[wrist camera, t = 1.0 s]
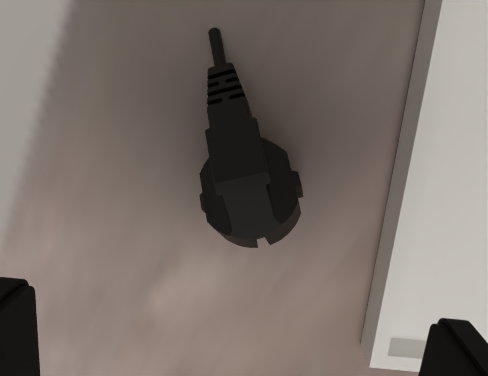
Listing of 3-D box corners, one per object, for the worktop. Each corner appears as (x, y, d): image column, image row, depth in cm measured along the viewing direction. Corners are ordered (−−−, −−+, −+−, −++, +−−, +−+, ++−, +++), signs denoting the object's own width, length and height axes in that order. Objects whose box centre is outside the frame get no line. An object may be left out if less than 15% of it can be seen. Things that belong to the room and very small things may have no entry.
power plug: (259, 8, 23) (310, 214, 19) (274, 83, 30) (313, 245, 26) (162, 35, 24) (191, 240, 20) (199, 102, 31) (226, 263, 27)
